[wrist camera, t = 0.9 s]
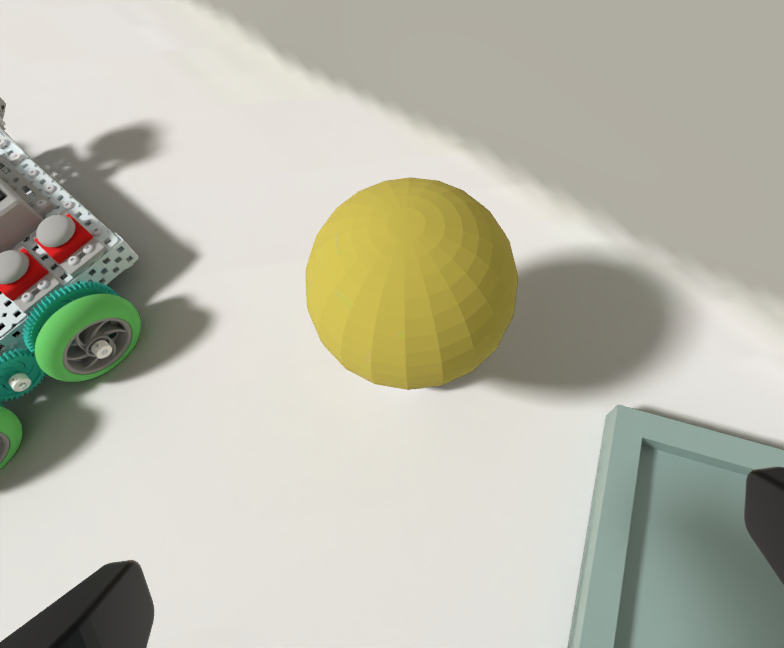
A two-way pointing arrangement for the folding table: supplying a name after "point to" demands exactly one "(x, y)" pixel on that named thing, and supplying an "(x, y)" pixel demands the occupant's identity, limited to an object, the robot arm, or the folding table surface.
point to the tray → (674, 542)
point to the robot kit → (54, 288)
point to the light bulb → (411, 283)
